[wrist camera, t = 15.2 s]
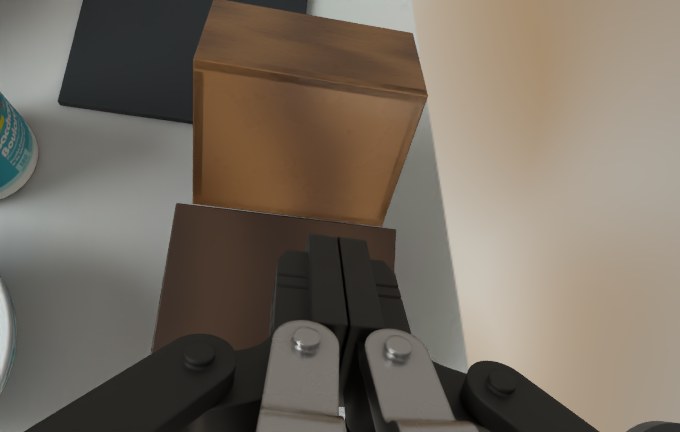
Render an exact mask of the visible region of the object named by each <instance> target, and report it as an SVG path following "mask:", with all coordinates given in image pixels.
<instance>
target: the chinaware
mask: <svg viewBox="0 0 680 432" xmlns="http://www.w3.org/2000/svg"><path fill="white" fill-rule="evenodd" d="M16 342H17V326H16V317H15V311H14V307H13V303H12V300H11V297H10V295H9V292H8V290H7V288H6V285H5V283H4V282H3V280H2V278H1V276H0V395H1V393H2V391H3V389H4V387H5V384H6V382H7V380H8V377H9V374H10V372H11V368H12V365H13V361H14V356H15V351H16Z"/></svg>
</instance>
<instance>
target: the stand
mask: <svg viewBox="0 0 680 432" xmlns="http://www.w3.org/2000/svg"><path fill="white" fill-rule="evenodd" d="M309 233H313V234H321V235H329V236H336V237H337V238H338V237H347V238H355V239H363V240H366V241H367V246H368V250H369V255H370V259H373V260H381V261H384V262H385V263H386V264H387V265H388V266H389V267H390V269H391V270H392V271H393V272H394V262H395V240H396V230H395V229H387V228H379V227H371V226H362V225H354V224H346V223H338V222H329V221H321V220H313V219H304V218H296V217H288V216H280V215H271V214H263V213H255V212H247V211H238V210H230V209H222V208H213V207H205V206H197V205H189V204H180V203H177V204H176V208H175V214H174V219H173V225H172V231H171V237H170V243H169V249H168V255H167V261H166V267H165V273H164V278H163V284H162V290H161V296H160V302H159V308H158V314H157V320H156V326H155V332H154V337H153V343H152V349H151V354H152V353H154V352H156V351H157V350H159V349H161V348H162V347H164V346H166V345H167V344H169V343H171V342H172V341H174V340H176V339H178V338H180V337H182V336H185V335H190V334H210V335H214V336H217V337H220V338H222V339H224V340H225V341H227V342H228V343H229V344H230V345H231V346H232V347H233V349H234V351H235V350H242V349H247V348H251V347H254V346H257V345H259V344H261V343H262V342H264V341H265V340H266V339H268V338H269V325H270V310H271V302H272V296H273V289H274V282H275V276H276V269H277V263H278V259H279V258H280V257H281V256H282V255H283V253H284V252H285V251H286V250H295V251H303V252H305V247H306V241H307V237H308V234H309Z"/></svg>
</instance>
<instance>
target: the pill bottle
mask: <svg viewBox="0 0 680 432" xmlns="http://www.w3.org/2000/svg"><path fill="white" fill-rule="evenodd" d="M37 159H38V145H37V141H36V138H35V136H34V133H33V132H32V130H31V128H30V127H29V126H28V124H27V123H26V122H25V121H24V119H23V118H22V117H21V116H20V115H19V113H18V112H17V111H16V110H15V109H14V108H13V106H12V105H11V104H10V103H9V102H8V100H7V99H6V98H5V97H4V96H3V94H2V93H1V92H0V199H3V198H5V197H7V196H9V195H11V194H13V193H14V192H16V191H17V190H18V189H20V188H21V187H22V186H23V185H24V184H25V183H26V182H27V181H28V179H29V178H30V177H31V175H32V173H33V171H34V169H35V167H36V164H37Z"/></svg>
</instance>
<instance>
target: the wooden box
mask: <svg viewBox="0 0 680 432" xmlns="http://www.w3.org/2000/svg"><path fill="white" fill-rule="evenodd" d="M427 97H428V94H427V90H426V86H425V82H424V78H423V74H422V70H421V66H420V61H419V57H418V53H417V49H416V45H415V41H414V37H413V33H408V32H402V31H397V30H391V29H385V28H380V27H374V26H368V25H363V24H357V23H351V22H346V21H340V20H334V19H329V18H323V17H317V16H312V15H306V14H300V13H295V12H289V11H283V10H278V9H272V8H267V7H261V6H255V5H250V4H244V3H238V2H233V1H227V0H213V3H212V5H211V8H210V11H209V14H208V17H207V20H206V23H205V26H204V29H203V32H202V35H201V38H200V41H199V44H198V47H197V50H196V53H195V55H194V58H193V204H199V205H207V206H216V207H224V208H232V209H240V210H249V211H257V212H265V213H273V214H282V215H290V216H298V217H306V218H315V219H323V220H331V221H339V222H348V223H356V224H364V225H372V226H382V224H383V221H384V218H385V216H386V213H387V210H388V207H389V204H390V201H391V199H392V196H393V193H394V190H395V187H396V185H397V182H398V179H399V176H400V173H401V170H402V168H403V165H404V162H405V159H406V156H407V154H408V151H409V148H410V145H411V142H412V139H413V137H414V134H415V131H416V128H417V125H418V122H419V120H420V117H421V114H422V111H423V108H424V106H425V103H426V100H427Z"/></svg>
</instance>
